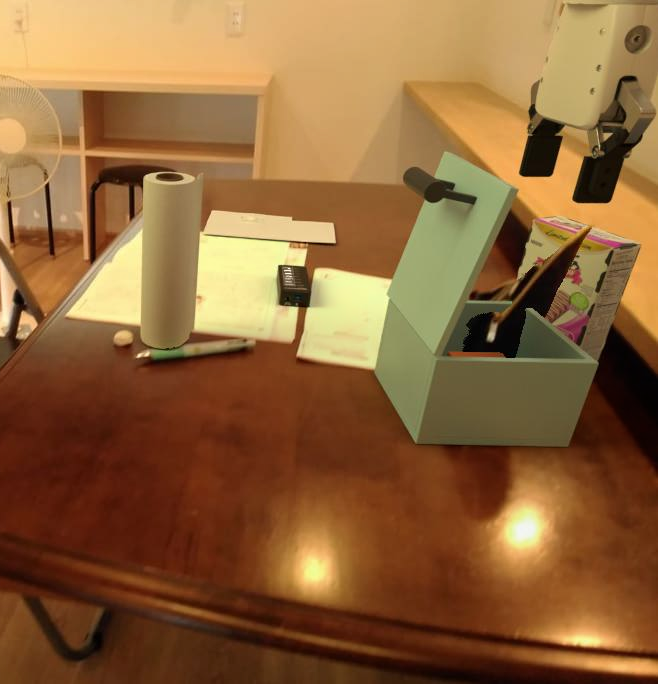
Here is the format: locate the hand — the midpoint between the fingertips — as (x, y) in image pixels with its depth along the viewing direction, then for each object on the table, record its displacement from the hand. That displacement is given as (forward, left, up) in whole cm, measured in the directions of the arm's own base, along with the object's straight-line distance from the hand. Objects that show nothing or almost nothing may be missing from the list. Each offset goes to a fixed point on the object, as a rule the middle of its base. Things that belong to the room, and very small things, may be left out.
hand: (561, 188), depth 65 cm
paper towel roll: (+36, -15, -25) cm, 46 cm away
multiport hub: (+17, -32, -25) cm, 44 cm away
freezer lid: (+9, 0, -6) cm, 11 cm away
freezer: (+4, 0, -25) cm, 25 cm away
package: (+3, 0, -24) cm, 24 cm away
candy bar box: (-13, -14, -25) cm, 31 cm away
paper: (+15, -64, -25) cm, 70 cm away
